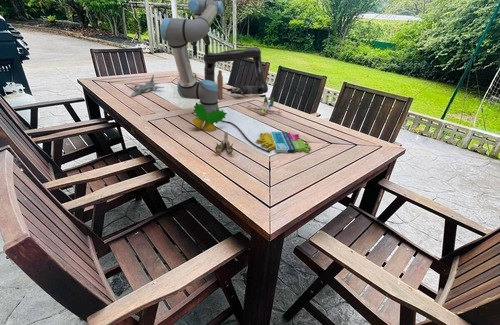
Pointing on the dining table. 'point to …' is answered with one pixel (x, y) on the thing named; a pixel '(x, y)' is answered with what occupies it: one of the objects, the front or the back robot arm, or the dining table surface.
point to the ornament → (207, 117)
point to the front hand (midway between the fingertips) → (201, 54)
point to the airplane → (145, 87)
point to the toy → (265, 107)
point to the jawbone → (224, 145)
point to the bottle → (220, 85)
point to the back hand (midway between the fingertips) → (229, 91)
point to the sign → (283, 142)
